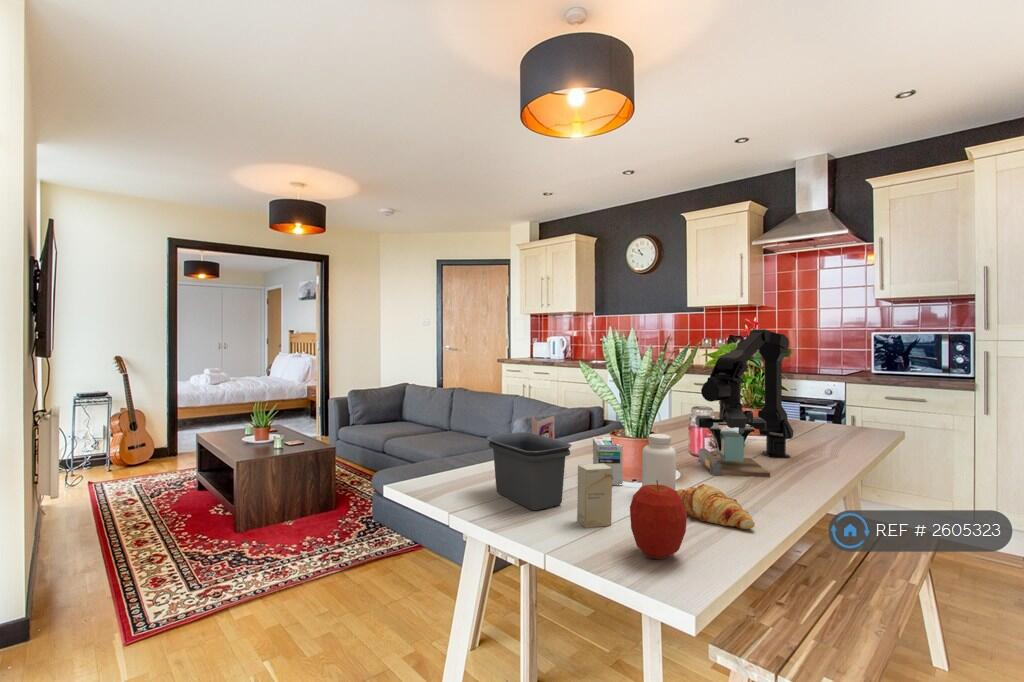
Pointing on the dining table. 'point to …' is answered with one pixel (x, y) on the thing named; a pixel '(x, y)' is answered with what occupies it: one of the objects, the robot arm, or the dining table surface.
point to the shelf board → (742, 468)
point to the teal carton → (731, 446)
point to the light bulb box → (609, 457)
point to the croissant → (714, 507)
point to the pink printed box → (543, 427)
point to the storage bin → (529, 468)
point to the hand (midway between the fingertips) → (729, 451)
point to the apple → (658, 520)
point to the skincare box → (594, 495)
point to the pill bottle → (659, 462)
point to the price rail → (710, 461)
